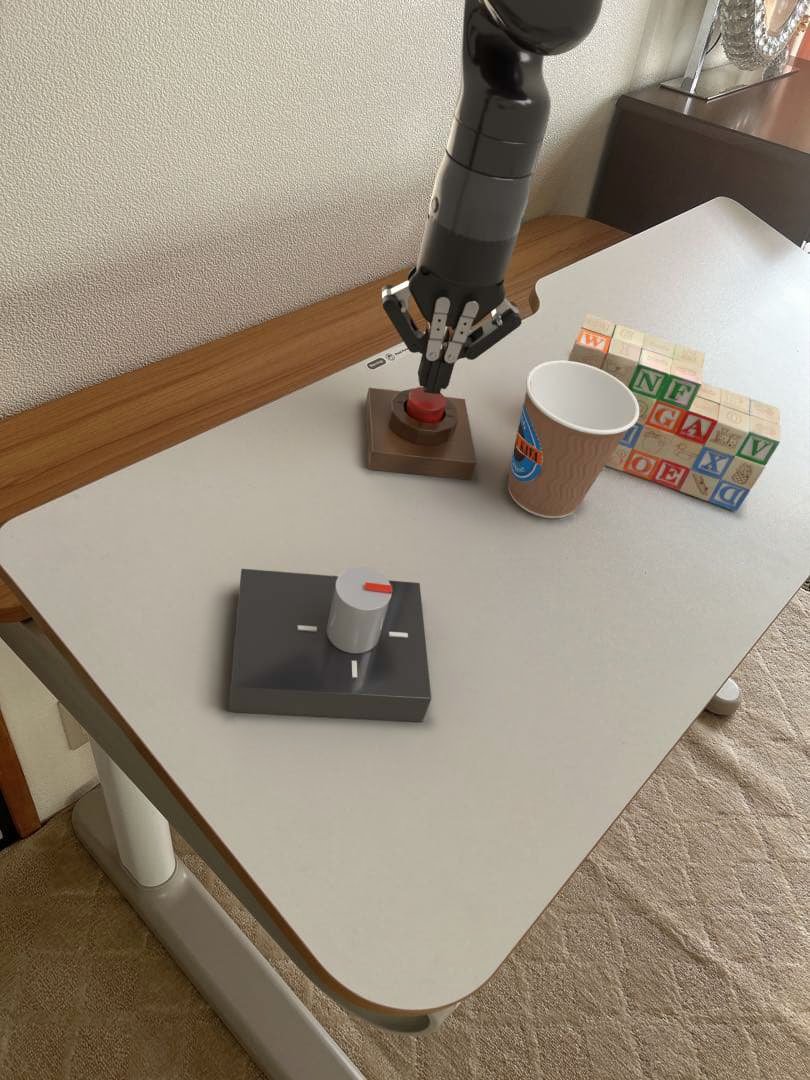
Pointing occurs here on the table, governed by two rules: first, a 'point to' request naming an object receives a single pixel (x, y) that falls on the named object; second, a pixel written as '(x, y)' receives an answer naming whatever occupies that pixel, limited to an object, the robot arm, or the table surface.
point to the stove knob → (358, 609)
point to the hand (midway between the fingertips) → (430, 388)
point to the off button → (425, 406)
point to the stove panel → (324, 653)
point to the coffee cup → (566, 435)
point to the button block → (418, 437)
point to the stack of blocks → (681, 416)
